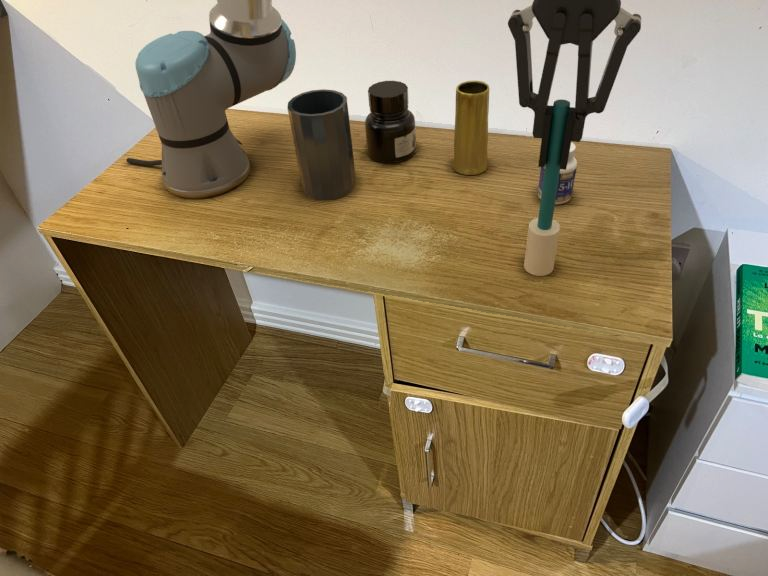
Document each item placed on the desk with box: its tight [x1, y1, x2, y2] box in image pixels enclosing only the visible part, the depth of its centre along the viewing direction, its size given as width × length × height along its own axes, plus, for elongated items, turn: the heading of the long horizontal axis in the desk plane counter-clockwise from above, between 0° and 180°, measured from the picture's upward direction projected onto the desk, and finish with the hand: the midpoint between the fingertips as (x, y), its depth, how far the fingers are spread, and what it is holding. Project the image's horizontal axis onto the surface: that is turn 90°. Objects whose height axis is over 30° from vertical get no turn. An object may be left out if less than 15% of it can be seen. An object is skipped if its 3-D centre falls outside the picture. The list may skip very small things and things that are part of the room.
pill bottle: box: [537, 141, 578, 205], centre depth 91 cm, size 5×5×9 cm
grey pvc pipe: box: [287, 88, 357, 201], centre depth 96 cm, size 9×9×15 cm
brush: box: [523, 99, 571, 277], centre depth 74 cm, size 4×4×24 cm
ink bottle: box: [364, 80, 417, 163], centre depth 104 cm, size 10×9×12 cm
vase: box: [452, 80, 490, 176], centre depth 98 cm, size 6×6×14 cm
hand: (553, 162), depth 71 cm, fingers closed on brush, 2 cm apart
